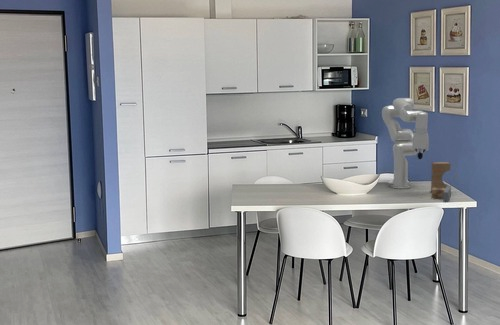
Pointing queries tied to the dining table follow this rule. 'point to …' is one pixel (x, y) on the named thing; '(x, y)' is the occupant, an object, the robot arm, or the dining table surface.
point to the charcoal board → (447, 193)
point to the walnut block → (437, 193)
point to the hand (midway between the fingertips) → (419, 158)
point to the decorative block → (439, 174)
